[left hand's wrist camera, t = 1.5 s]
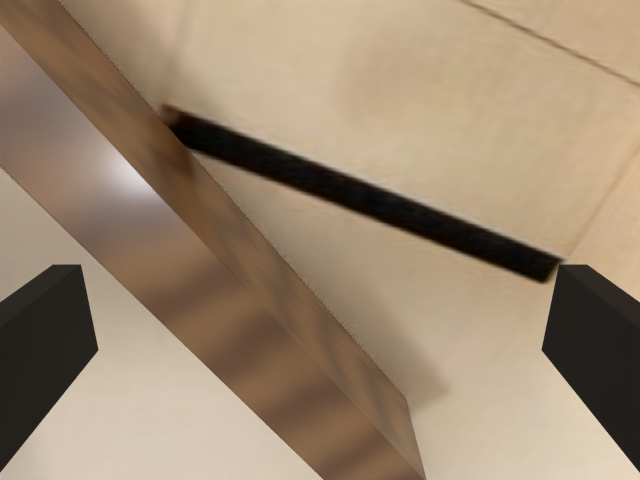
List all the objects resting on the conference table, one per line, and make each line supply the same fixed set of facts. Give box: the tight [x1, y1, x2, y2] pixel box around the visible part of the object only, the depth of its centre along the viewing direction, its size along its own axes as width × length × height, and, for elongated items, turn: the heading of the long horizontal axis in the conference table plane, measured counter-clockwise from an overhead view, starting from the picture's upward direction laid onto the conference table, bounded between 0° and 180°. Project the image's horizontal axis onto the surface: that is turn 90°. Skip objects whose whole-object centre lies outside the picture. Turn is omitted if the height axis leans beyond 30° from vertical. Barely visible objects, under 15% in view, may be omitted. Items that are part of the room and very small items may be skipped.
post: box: [0, 0, 426, 480], centre depth 26 cm, size 77×6×9 cm, turn 38°
